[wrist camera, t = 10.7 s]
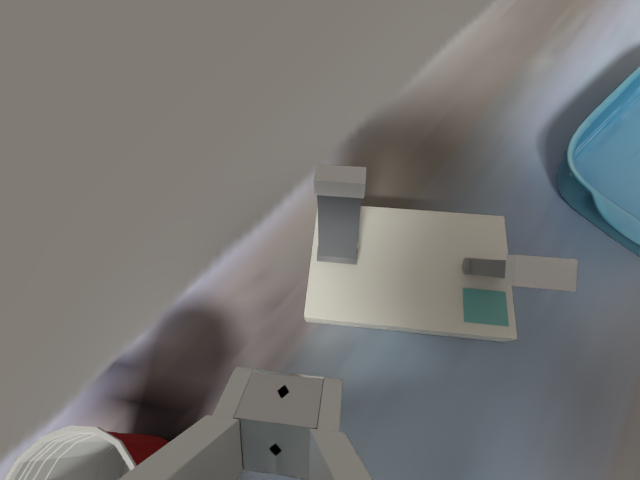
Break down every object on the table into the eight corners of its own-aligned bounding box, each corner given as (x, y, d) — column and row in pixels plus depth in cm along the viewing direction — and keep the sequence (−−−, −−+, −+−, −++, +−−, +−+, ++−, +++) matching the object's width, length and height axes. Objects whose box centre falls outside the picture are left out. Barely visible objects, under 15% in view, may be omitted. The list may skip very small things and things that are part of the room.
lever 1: (356, 270, 37) (365, 183, 29) (316, 266, 38) (314, 180, 29) (357, 253, 39) (366, 167, 30) (319, 250, 39) (317, 164, 31)
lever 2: (503, 279, 37) (575, 291, 25) (461, 276, 37) (514, 286, 25) (504, 258, 37) (577, 259, 25) (463, 254, 37) (516, 254, 26)
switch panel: (504, 342, 37) (518, 338, 34) (306, 321, 39) (303, 316, 36) (493, 226, 42) (505, 215, 40) (319, 213, 44) (318, 202, 41)
